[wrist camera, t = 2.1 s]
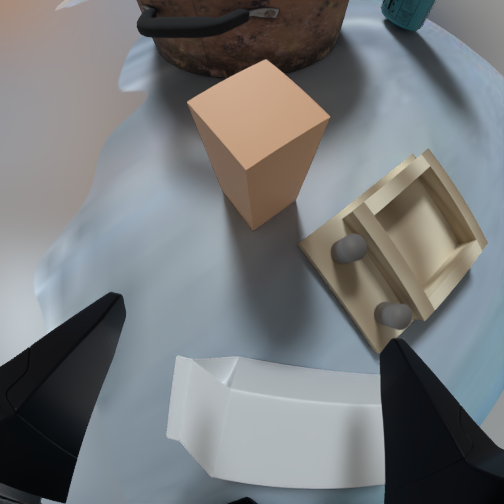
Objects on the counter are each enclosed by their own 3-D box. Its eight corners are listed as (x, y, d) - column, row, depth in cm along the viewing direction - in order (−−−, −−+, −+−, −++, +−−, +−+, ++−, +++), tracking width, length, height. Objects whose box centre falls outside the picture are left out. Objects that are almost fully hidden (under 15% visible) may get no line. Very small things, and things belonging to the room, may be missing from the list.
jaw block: (253, 231, 22) (245, 170, 10) (222, 190, 22) (186, 102, 10) (295, 200, 22) (330, 117, 10) (263, 162, 22) (266, 59, 10)
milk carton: (451, 401, 13) (159, 370, 14) (413, 480, 12) (151, 460, 13) (406, 375, 20) (189, 344, 21) (382, 441, 19) (178, 417, 20)
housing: (373, 351, 20) (394, 363, 16) (297, 244, 21) (305, 236, 17) (468, 250, 21) (494, 245, 17) (408, 157, 22) (428, 139, 18)
